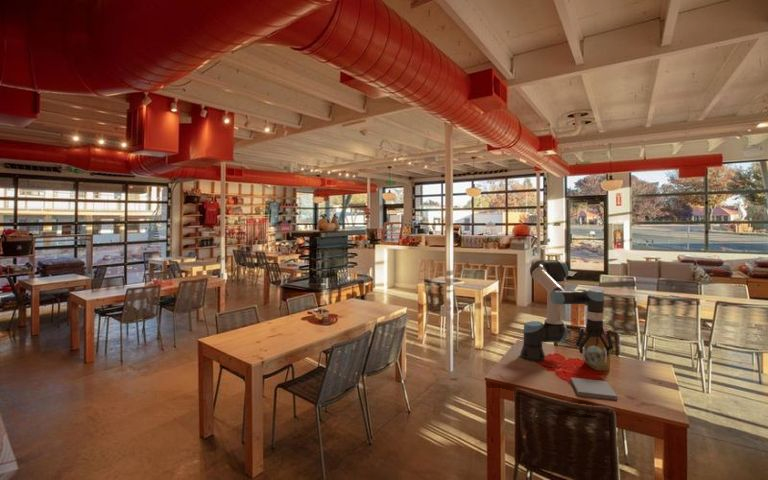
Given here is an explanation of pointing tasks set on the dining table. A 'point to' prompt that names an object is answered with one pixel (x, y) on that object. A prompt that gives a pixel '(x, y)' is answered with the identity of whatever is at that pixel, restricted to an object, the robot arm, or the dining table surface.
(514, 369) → the dining table surface
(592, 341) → the food packaging
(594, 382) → the plate
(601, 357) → the spool
